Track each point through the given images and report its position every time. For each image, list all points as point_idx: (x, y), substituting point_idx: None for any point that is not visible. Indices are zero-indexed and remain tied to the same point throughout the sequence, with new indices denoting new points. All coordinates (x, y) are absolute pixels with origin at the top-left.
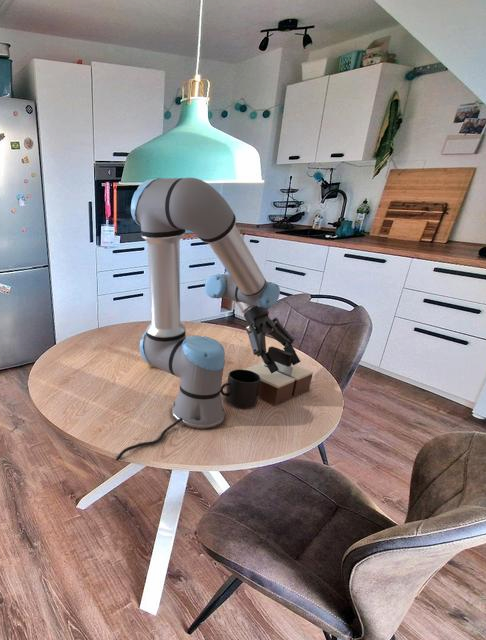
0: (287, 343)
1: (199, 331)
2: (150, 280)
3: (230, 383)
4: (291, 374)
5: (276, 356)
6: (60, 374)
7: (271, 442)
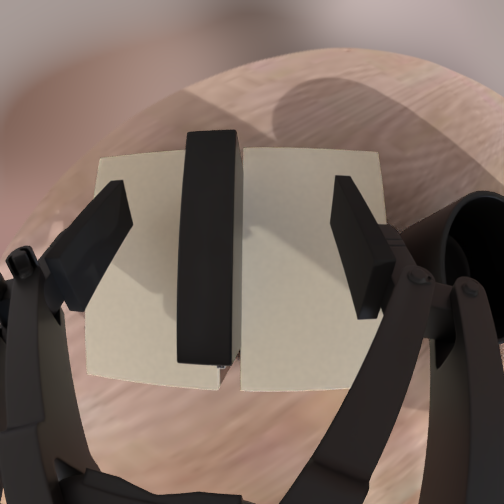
0: (44, 290)
1: None
2: None
3: None
4: None
5: (239, 264)
6: None
7: (474, 104)
